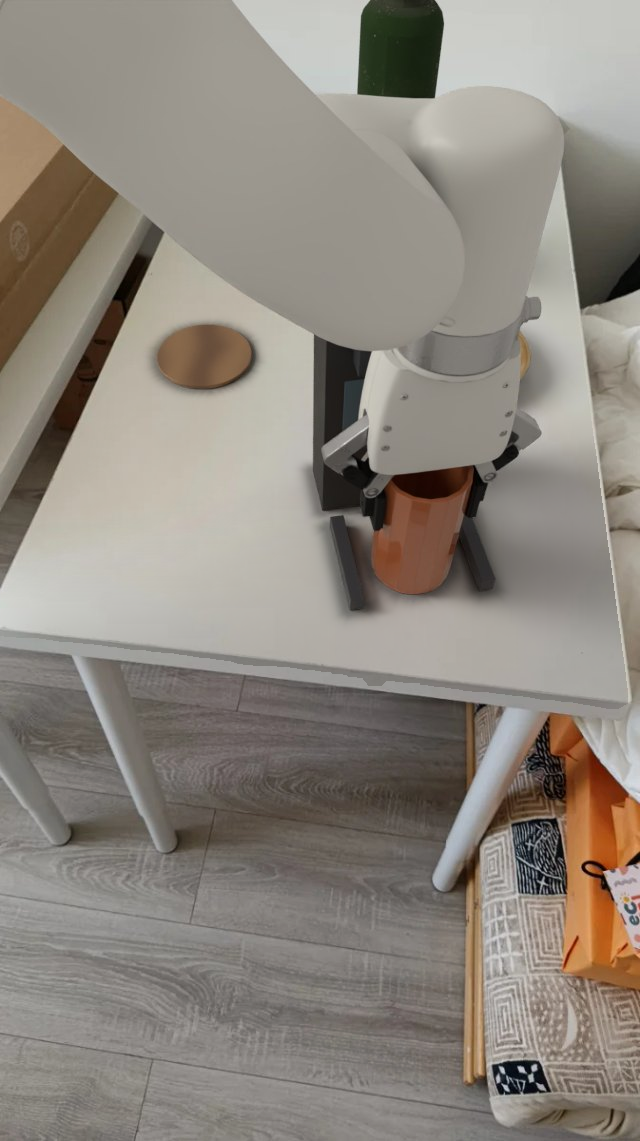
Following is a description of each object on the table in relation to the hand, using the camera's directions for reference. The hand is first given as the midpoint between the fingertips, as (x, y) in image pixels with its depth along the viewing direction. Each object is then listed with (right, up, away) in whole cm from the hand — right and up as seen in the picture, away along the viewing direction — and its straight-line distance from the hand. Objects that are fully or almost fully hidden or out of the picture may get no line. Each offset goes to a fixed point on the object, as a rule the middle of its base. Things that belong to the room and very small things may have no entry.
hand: (419, 509), depth 62 cm
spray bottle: (+2, +54, +47) cm, 72 cm away
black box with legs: (-1, -1, +8) cm, 8 cm away
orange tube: (0, -4, +6) cm, 7 cm away
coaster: (-20, +18, +21) cm, 34 cm away
